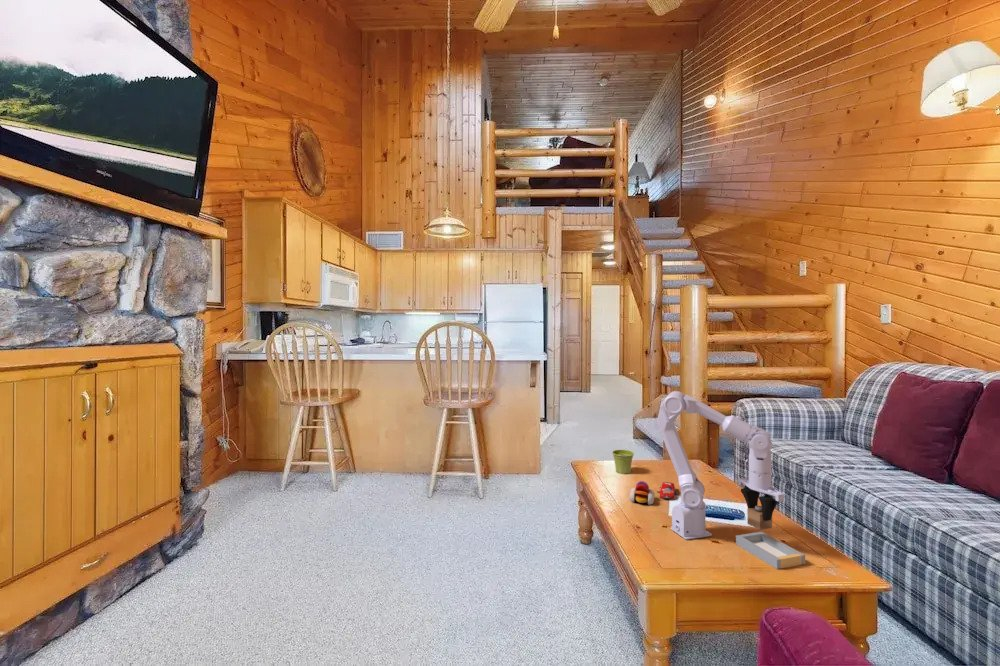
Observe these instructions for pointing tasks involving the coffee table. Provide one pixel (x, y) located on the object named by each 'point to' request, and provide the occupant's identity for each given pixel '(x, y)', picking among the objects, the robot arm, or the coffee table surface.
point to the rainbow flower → (642, 493)
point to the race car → (667, 490)
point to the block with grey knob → (757, 518)
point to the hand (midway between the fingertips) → (759, 516)
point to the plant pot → (623, 460)
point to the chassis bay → (770, 550)
